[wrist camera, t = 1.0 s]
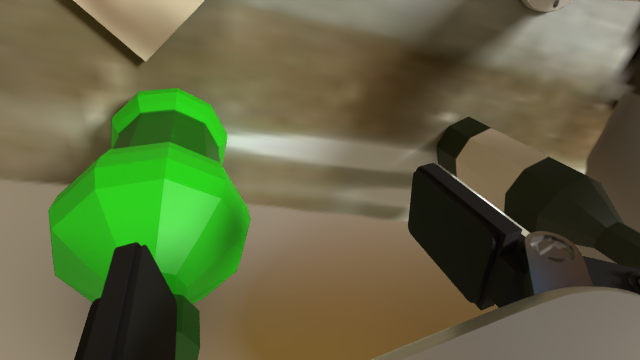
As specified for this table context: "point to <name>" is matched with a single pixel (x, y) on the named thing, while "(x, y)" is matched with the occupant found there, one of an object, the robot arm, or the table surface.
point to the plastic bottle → (155, 205)
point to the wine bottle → (537, 190)
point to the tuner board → (141, 20)
